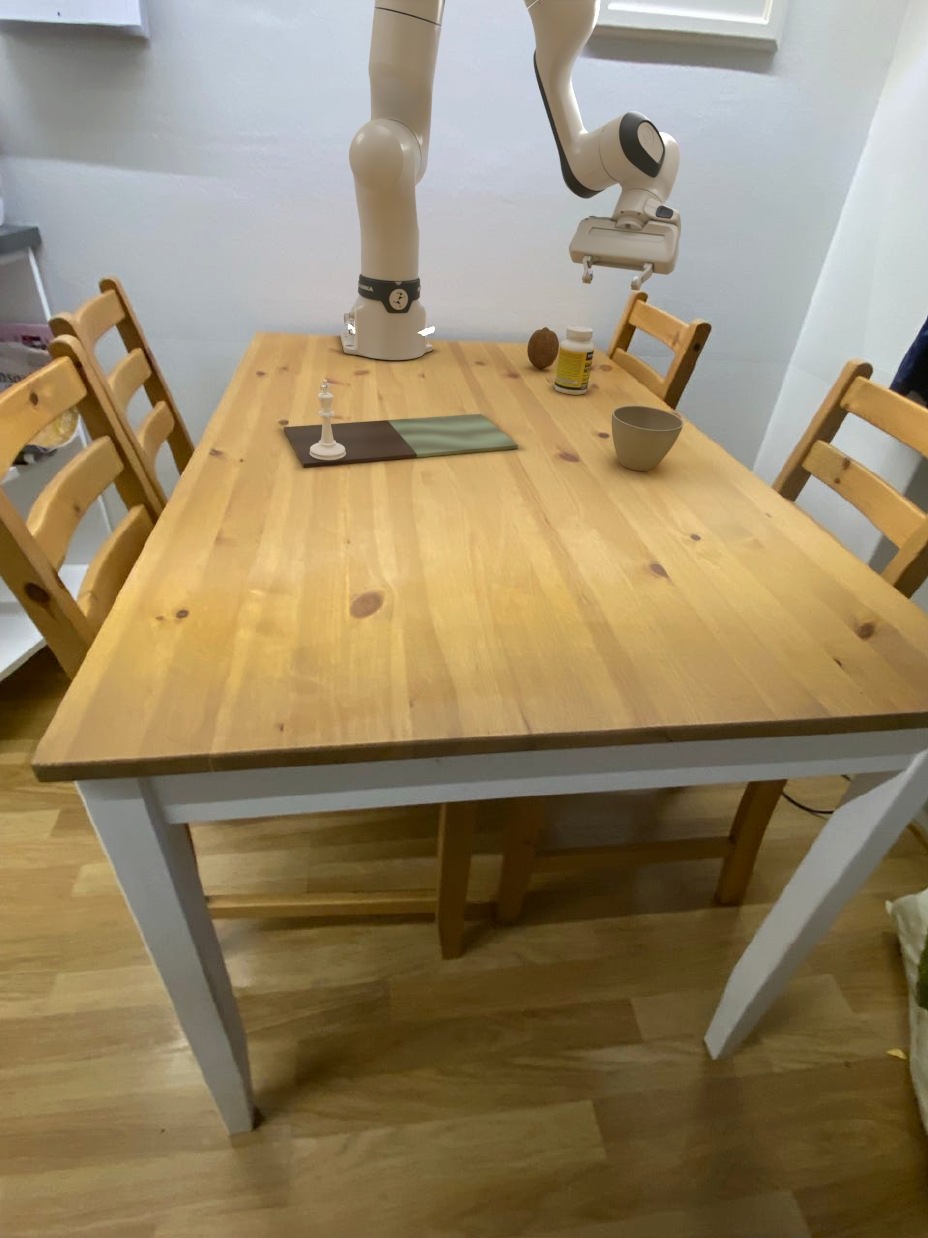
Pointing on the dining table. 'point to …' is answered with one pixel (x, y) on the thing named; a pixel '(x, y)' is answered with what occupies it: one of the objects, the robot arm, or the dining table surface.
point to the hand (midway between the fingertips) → (610, 284)
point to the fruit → (543, 348)
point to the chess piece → (326, 430)
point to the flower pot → (643, 435)
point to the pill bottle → (574, 361)
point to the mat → (402, 439)
